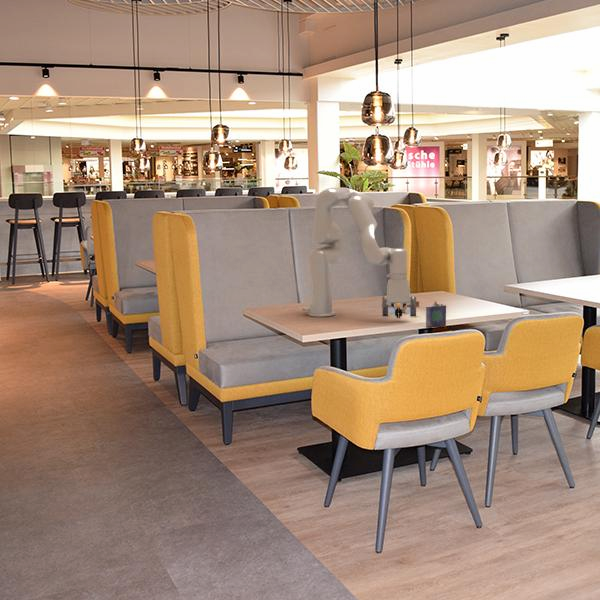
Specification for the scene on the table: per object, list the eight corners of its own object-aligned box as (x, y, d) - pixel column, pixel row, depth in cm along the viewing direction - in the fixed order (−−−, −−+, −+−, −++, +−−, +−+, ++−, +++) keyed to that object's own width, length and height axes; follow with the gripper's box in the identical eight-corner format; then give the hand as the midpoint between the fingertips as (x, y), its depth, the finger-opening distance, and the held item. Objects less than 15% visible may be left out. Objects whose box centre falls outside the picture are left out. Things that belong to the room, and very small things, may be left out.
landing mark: (384, 313, 371) (384, 313, 371) (385, 308, 385) (385, 308, 385) (414, 313, 369) (414, 313, 369) (414, 308, 383) (414, 308, 383)
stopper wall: (382, 306, 391) (382, 301, 391) (382, 306, 393) (382, 301, 393) (419, 306, 388) (419, 301, 388) (419, 306, 390) (419, 301, 390)
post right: (410, 316, 361) (410, 297, 360) (410, 315, 364) (410, 296, 362) (416, 316, 361) (416, 297, 360) (416, 315, 363) (416, 296, 362)
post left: (382, 316, 363) (382, 297, 362) (382, 315, 366) (382, 296, 364) (388, 316, 363) (387, 297, 361) (388, 315, 365) (388, 296, 364)
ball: (394, 298, 372) (395, 305, 376) (393, 308, 369) (394, 315, 373) (406, 298, 370) (407, 305, 375) (405, 308, 367) (406, 315, 372)
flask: (427, 327, 334) (427, 302, 332) (424, 326, 336) (424, 301, 335) (447, 326, 337) (447, 301, 335) (443, 325, 339) (443, 300, 338)
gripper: (380, 277, 345) (381, 319, 348) (415, 277, 343) (415, 319, 346) (381, 275, 352) (381, 316, 355) (415, 275, 350) (415, 316, 353)
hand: (398, 317), depth 350 cm, fingers closed
